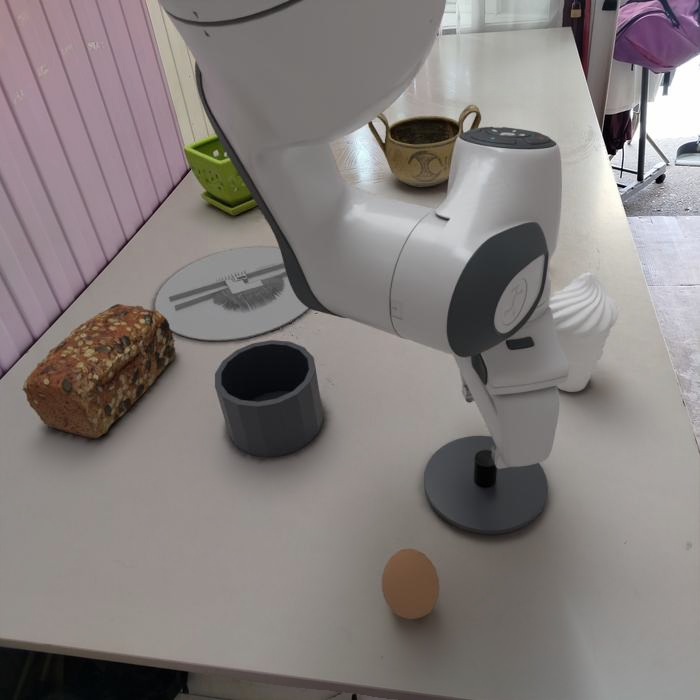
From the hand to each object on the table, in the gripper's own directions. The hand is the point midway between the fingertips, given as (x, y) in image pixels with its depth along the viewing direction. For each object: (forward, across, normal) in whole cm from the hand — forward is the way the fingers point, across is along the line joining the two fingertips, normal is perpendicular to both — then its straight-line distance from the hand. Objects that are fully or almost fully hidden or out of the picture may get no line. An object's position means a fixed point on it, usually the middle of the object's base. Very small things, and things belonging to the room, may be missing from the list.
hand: (486, 428), depth 64 cm
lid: (+9, 0, 0) cm, 9 cm away
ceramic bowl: (+9, -81, +14) cm, 83 cm away
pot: (+10, -16, -22) cm, 29 cm away
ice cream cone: (+9, -14, +16) cm, 24 cm away
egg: (+10, +12, -11) cm, 19 cm away
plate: (+10, -49, -26) cm, 56 cm away
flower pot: (+9, -84, -25) cm, 88 cm away
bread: (+10, -28, -44) cm, 53 cm away
